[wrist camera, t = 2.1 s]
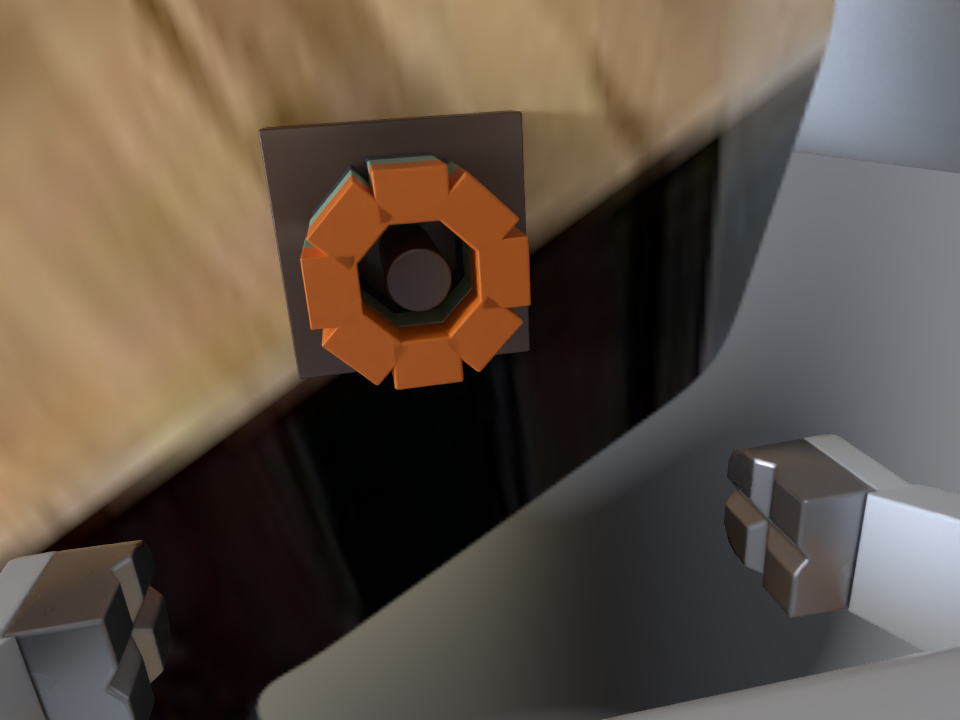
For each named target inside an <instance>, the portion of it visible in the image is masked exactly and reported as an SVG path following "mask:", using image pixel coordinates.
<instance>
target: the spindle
mask: <svg viewBox="0 0 960 720" xmlns="http://www.w3.org/2000/svg"><path fill="white" fill-rule="evenodd" d="M258 133H259V139H260V145H261V151H262V157H263V163H264V169H265V176H266V182H267V188H268V194H269V200H270V206H271V212H272V218H273V224H274V230H275V236H276V242H277V248H278V254H279V260H280V266H281V272H282V278H283V284H284V290H285V296H286V303H287V309H288V315H289V321H290V327H291V333H292V339H293V345H294V351H295V357H296V363H297V369H298V375H299V378H300V379H304V378H312V377H320V376H328V375H336V374H344V373H353V372H357V371H356V370H355V369H353V368H352V367H350V366H349V365H348V364H346V363H345V362H343V361H342V360H341V359H339V358H338V357H336V356H335V355H333V354H332V353H331V352H329V351H328V350H326V349H325V348H324V347H323V346H322V336H323V329H318V330H311V327H310V320H309V314H308V307H307V301H306V294H305V288H304V281H303V275H302V268H301V262H300V259H301V254H302V250H303V246H304V241H305V237H306V233H307V230H308V228H309V223H310V219H311V215H312V212H313V210H314V209H315V208H316V207H317V205H318V204H319V203H320V202H321V200H322V199H323V198H324V197H325V195H326V194H327V193H328V192H329V190H330V189H331V188H332V187H333V185H334V184H335V183H336V182H337V180H338V179H339V178H340V176H341V175H342V174H343V173H344V171H345V170H346V169H347V168H348V166H350V165H352V166H353V167H354V168H356V169H357V170H358V171H359V172H360V173H362V174H363V175H364V176H365V177H366V178H367V169H366V161H365V157H366V156H375V155H388V154H401V153H414V152H429V153H431V154H432V155H434V157H436V158H437V159H439V160H442V159H443V158H446V159H448V160H450V161H451V162H453V163H455V164H456V165H458V166H460V167H461V168H462V169H464V170H466V171H467V172H469V173H470V174H471V175H472V176H473V177H474V178H476V179H477V180H478V181H479V182H480V183H481V184H482V185H483V186H484V187H486V188H487V189H488V190H489V191H490V192H491V193H492V194H493V195H494V196H496V197H497V198H498V199H499V200H500V201H501V202H502V203H503V204H504V205H505V206H507V207H508V208H509V209H510V210H511V211H512V212H513V213H514V214H515V215H517V216H518V218H519V221H518V223H517V224H516V225H515V226H514V227H515V228H517V229H518V230H520V231H521V232H522V233H524V234H525V235H526V222H525V193H524V165H523V136H522V113H521V112H520V111H511V110H510V111H496V112H481V113H467V114H452V115H438V116H424V117H409V118H395V119H380V120H366V121H352V122H337V123H323V124H308V125H294V126H280V127H265V128H262V129H260V130H259V131H258ZM456 267H457V259H456V245H455V233H454V232H453V231H451V230H450V229H449V228H448V227H447V226H446V225H444V224H443V223H442V222H441V221H431V222H420V223H409V224H398V225H389V226H388V228H387V229H386V230H385V231H384V232H383V234H382V235H381V236H380V237H379V239H378V240H377V241H376V242H375V243H374V245H373V246H372V247H371V248H370V249H369V251H368V252H367V253H366V254H365V256H364V257H363V258H362V259H361V260H360V262H359V263H358V271H359V276H360V277H361V278H362V279H364V280H365V281H366V282H368V283H369V284H370V285H371V286H373V287H374V288H375V289H377V290H378V291H379V292H380V293H382V294H383V295H384V296H386V297H387V298H388V299H390V300H391V301H395V302H396V303H397V304H398V305H399V306H401V307H403V308H405V309H407V310H410V311H417V312H419V311H427V310H430V309H432V308H434V307H436V306H438V305H439V304H440V303H441V302H442V301H443V300H444V299H445V298H446V296H447V294H448V293H449V290H450V287H451V273H452V271H453V270H454V269H455V268H456ZM512 308H513V309H514V310H515V312H516V313H517V314H518V315H519V317H520V318H521V319H522V321H523V324H522V325H521V326H520V327H519V328H518V329H517V331H516V332H515V333H514V334H513V335H512V336H511V337H510V339H509V340H508V341H507V342H506V343H505V344H504V345H503V346H502V348H501V349H500V350H499V351H498V352H497V353H496V354H495V355H499V354H507V353H515V352H524V351H529V350H530V335H529V307H528V306H520V307H512Z"/></svg>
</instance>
